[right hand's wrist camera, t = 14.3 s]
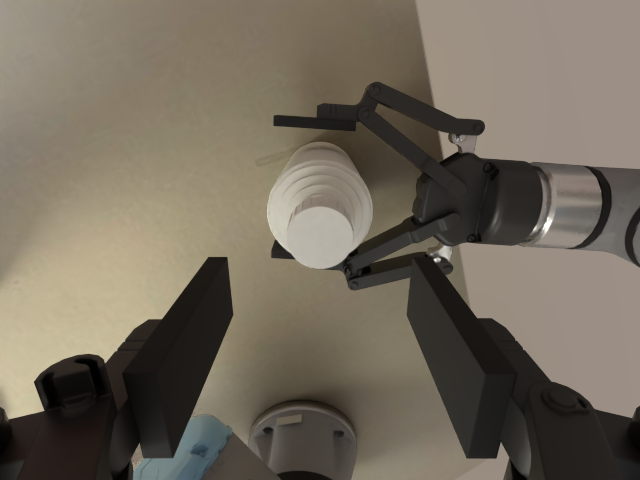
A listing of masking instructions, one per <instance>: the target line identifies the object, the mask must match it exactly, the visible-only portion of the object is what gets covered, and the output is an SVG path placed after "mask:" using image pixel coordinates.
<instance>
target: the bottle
mask: <svg viewBox="0 0 640 480" xmlns="http://www.w3.org/2000/svg"><path fill="white" fill-rule="evenodd" d="M316 196H325V197H330V198H332V199H334V200H336V201H338V202H339V203H340V204H341V205H342V206H344V207H345V209H346V211H347V213H349V215H350V219H351V223H352V226H353V230H354V232H353V235H354V240H353V245H352V248H351V251H350V252H352V251H353V250H354V249H356V248H357V247H358V246H359V245H360V244H361V242H362V241H363V240H364V238H365V237H366V235H367V233H368V231H369V229H370V226H371V223H372V218H373V204H372V198H371V195H370V192H369V190H368V188H367V186H366V184H365V183H364V181H363V179H362V178H361V176H360V174H359V173H358V171H357V169H356V167H355V166H354V164H353V162H352V161H351V159H350V157H349V156H348V155H347V154H346V152H345V151H343V150H342V149H341V148H340V147H338V146H336V145H334V144H331V143H328V142H312V143H309V144H306V145H304V146H302V147H301V148H299V149H298V150H297V151H296V152H295V153H294V154H293V155H292V156H291V158H290V159H289V161H288V163H287V164H286V166H285V168H284V169H283V171H282V173H281V174H280V176H279V178H278V179H277V181H276V183H275V185H274V186H273V188H272V190H271V193H270V196H269V199H268V205H267V216H268V222H269V226H270V228H271V231H272V233H273V235H274V237H275V238H276V240H277V241H278V242H279V243H280V244H281V245H282V247H283V248H285V249H286V250H287V251H288V252H290V250H289V248H288V245H287V232H286V231H287V227H288V223H289V220H290V216H291V213H293V211H294V210H295V207H296V206H298V205H299V204H300V203H301V202H302V201H304V200H306V199H308V198H310V197H316ZM290 253H291V252H290Z"/></svg>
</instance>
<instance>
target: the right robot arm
mask: <svg viewBox="0 0 640 480" xmlns="http://www.w3.org/2000/svg"><path fill="white" fill-rule="evenodd" d="M232 317H233V307H232V298H231V288H230V279H229V269H228V259H227V257H208V258H207V260H206V261H205V262H204V264H203V265H202V267H201V268H200V269H199V271H198V272H197V273H196V275H195V276H194V277H193V279H192V280H191V281H190V283H189V284H188V285H187V287H186V288H185V289H184V291H183V292H182V293H181V295H180V296H179V297H178V299H177V300H176V301H175V303H174V304H173V305H172V307H171V308H170V309H169V311H168V312H167V313H166V315H165V316H164V317H163V319H149V320H147V321H146V322H144V323H143V324H141V325H140V326H138V327H137V328H135V329H134V330H133V331H132V332H131V334H130V335H129V336H128V337H127V338H126V340H125V342H123V343H122V344H121V346H120V347H119V348H118V350H117V351H115V353H114V354H113V355H112V356H111V357H110V359H109V360H108V361H107V362H106V363H105V362H104V359H102V358H101V357H100V356H98V355H93V354H84V355H76V356H73V357H70V358H67V359H64V360H61V361H59V362H57V363H55V364H53V365H51V366H50V367H49V368H47V369H46V370H45V371H43V372H42V373H41V374H40V375H39V376H38V377H37V379H36V380H35V381H34V384H35V386H36V389H37V392H38V394H39V397H40V400H41V402H42V405H43V408H44V410H45V411H43V412H39V413H35V414H30V415H26V416H22V417H18V418H13V419H9V420H8V418H7V415H6V413H5V411H4V409H2V408H1V407H0V480H133V465H132V461H131V457H132V456H133V454H134V452H135V450H136V448H137V446H138V444H139V443H140V446H141V450H142V454H143V458H174V455H175V453H176V451H177V448H178V446H179V444H180V441H181V439H182V436H183V434H184V432H185V429H186V427H187V424H188V422H189V420H190V417H191V415H192V412H193V410H194V408H195V405H196V403H197V400H198V398H199V396H200V393H201V391H202V389H203V386H204V384H205V381H206V379H207V377H208V374H209V372H210V369H211V367H212V365H213V362H214V360H215V357H216V355H217V353H218V350H219V348H220V345H221V343H222V341H223V338H224V336H225V334H226V331H227V329H228V326H229V324H230V322H231V319H232ZM407 317H408V319H409V322H410V324H411V326H412V329H413V331H414V334H415V336H416V338H417V341H418V343H419V345H420V348H421V350H422V353H423V355H424V357H425V360H426V362H427V365H428V367H429V369H430V372H431V374H432V377H433V379H434V381H435V384H436V386H437V389H438V391H439V393H440V396H441V398H442V400H443V403H444V405H445V408H446V410H447V412H448V415H449V417H450V420H451V422H452V424H453V427H454V429H455V432H456V434H457V436H458V439H459V441H460V444H461V446H462V448H463V451H464V453H465V455H466V458H497V454H498V450H499V446H500V442H501V443H502V444H503V446H504V448H505V450H506V452H507V454H508V456H509V461H508V465H507V468H506V472H505V476H504V479H503V480H640V406H639V407H637V408H636V411H635V413H634V415H633V418H629V417H625V416H620V415H616V414H612V413H607V412H603V411H599V410H596V409H594V408H593V407H592V405H591V404H590V402H589V401H588V400H587V399H585V398H584V397H583V396H582V395H581V394H579V393H578V392H576V391H574V390H572V389H571V388H569V387H567V386H564V385H561V384H558V383H555V382H551V381H550V380H549V378H548V377H547V376H546V375H545V374H544V372H543V371H542V370H541V369H540V368H539V367H538V365H537V364H536V363H535V362H534V361H533V359H532V358H531V357H530V356H529V355H528V353H527V352H526V351H525V350H523V348H522V346H521V345H520V344H519V343H518V342H517V341H515V338H514V337H513V336H512V335H511V333H510V332H509V331H508V330H507V329H506V328H505V327H504V326H502V325H501V324H499V323H498V322H496V321H495V320H493V319H491V318H477V317H476V316H475V315H474V313H473V312H472V311H471V309H470V308H469V307H468V305H467V304H466V303H465V301H464V300H463V299H462V297H461V296H460V295H459V293H458V292H457V291H456V289H455V288H454V287H453V285H452V284H451V283H450V281H449V280H448V279H447V277H446V276H445V275H444V273H443V272H442V271H441V269H440V268H439V266H438V265H437V264H436V262H435V261H434V260H433V258H432V257H413V259H412V269H411V279H410V288H409V298H408V307H407Z"/></svg>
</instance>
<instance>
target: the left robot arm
mask: <svg viewBox="0 0 640 480" xmlns="http://www.w3.org/2000/svg"><path fill="white" fill-rule="evenodd" d="M378 103H379V104H381V105H383V106H386V107H388V108H390V109H392V110H394V111H397V112H399V113H401V114H403V115H405V116H408V117H410V118H412V119H414V120H416V121H418V122H421V123H423V124H425V125H427V126H429V127H432V128H434V129H436V130H439V131H442V132H446V133H449V135H448V138H449V141H450V142H451V143H454V144H456V145H457V146H458V152H456V153H454V154H453V155H451V156H449V157H448V158H446V159H444V160H443V161H441V162H439V163H438V162H437V161H435V160H434V159H433V158H431V157H430V156H429V155H427V154H426V153H425V152H424V151H422V150H421V149H420V148H419V147H417V146H416V145H415V144H414V143H413V142H411V141H410V140H409V139H408V138H406V137H405V136H404V135H403V134H402V133H400V132H399V131H398V130H397V129H395V128H394V127H393V126H392V125H391V124H389V123H388V122H387V121H386V120H384V119H383V118H382V117H381V116H380V115H378V114H377V113H376V112H375V109H376V106H377V104H378ZM356 122H361V123H362V124H363V125H364V126H366V127H367V128H368V129H370V130H371V131H372V132H373V133H375V134H376V135H377V136H378V137H380V138H381V139H382V140H383V141H385V142H386V143H387V144H388V145H390V146H391V147H392V148H393V149H395V150H396V151H397V152H398V153H400V154H401V155H402V156H403V157H405V158H406V159H407V160H408V161H410V162H411V163H412V164H413V165H414V166H415V167H417V168H418V169H419V170H420V171H422V172H423V174H422V175H421V176H420V178H417V184H416V191H417V196H416V198H415V201H414V203H413V208H412V212H413V213H414V215H413V216H411V217H409V218H407V219H405V220H404V221H403V222H402V223H401V224H399V225H397V226H395V227H393V228H391V229H389V230H387V231H385V232H383V233H381V234H379V235H377V236H375V237H373V238H371V239H369V240H368V241H366V242H364V243H362V244H360V245H359V246H358V247H357V248H356V249H354V250H353V251H352V252H350V253H349V254H348V256H347V257H346V258H345V259H344V260H343V261H342V262H340V263H339V264H337V265H335V266H333V267H330V268H326V269H327V270H340V271H342V272H343V273H344V274H345V276H346V279H347V283H348V287H349V288H350V289H351V290H359V289H363V288H367V287H372V286H376V285H380V284H384V283H389V282H393V281H397V280H401V279H406V278H410V277H411V269H412V259H413V257H432V258H433V260H434V261H435V262H436V264H437V265H438V266H439V268H440V269H441V271H442V272H443V273H444V275H447V274H450V273H451V272H452V270H453V266H452V264H451V263H450V258H451V254H452V250H453V246H456V245H458V244H461V243H466V242H469V243H478V244H494V245H510V246H512V245H517V244H518V245H520V246H523V247H543V248H565V249H580V250H592V251H604V252H609V253H612V254H615V255H617V256H619V257H621V258H623V259H625V260H627V261H629V262H631V263H633V264H635V265H637V266H638V267H640V169H624V168H606V167H589V166H580V165H567V164H553V163H540V162H532V163H528V162H525V161H513V160H498V159H483V158H479V157H478V156H476V155H475V154H474V150H475V145H476V139H477V135H480V134H482V132H483V131H484V129H485V125H484V122H483V121H481V120H474V119H457V118H455V117H453V116H451V115H448V114H446V113H444V112H442V111H440V110H438V109H436V108H434V107H431V106H429V105H427V104H425V103H423V102H421V101H419V100H416V99H414V98H412V97H410V96H408V95H406V94H404V93H401V92H399V91H397V90H395V89H393V88H391V87H389V86H386V85H384V84H382V83H380V82H374V83H372V84H369V85H368V86H367V87H366V89H365V92H364V95H363V97H362V99H361V101H360V102H359V103H358V104H357V105H340V104H325V103H324V104H321V105H318V106H317V118H314V117H299V116H285V115H275V116H274V126H285V127H299V128H314V129H329V130H343V131H355V130H356ZM432 236H434V237H435V238H436V239H437V240H438V241H439V242H440V243H439V244H438V245H437V246H436V247H432V248H428V249H427V252H416V253H412V254H407V255H403V256H399V257H395V258H391V259H387V260H383V261H379V262H375V261H377V260H379V259H381V258H383V257H385V256H387V255H389V254H391V253H393V252H395V251H397V250H399V249H401V248H403V247H405V246H407V245H410V244H412V243H419V242H421V241H423V240H425V239H427V238H430V237H432ZM271 258H282V259H295V258H294V257H293V255H292V254H291V253H290V252H288V251H287V250H286V249H285V248H283V247H282V245H281V244H280V243H279V242H278V241H277V240H275V242H274V245H273V248H272V255H271ZM373 262H375V263H373ZM313 269H315V268H313ZM356 454H357V444H356V435H355V431H354V428H353V426H352V424H351V423H350V421H349V420H348V419H347V418H346V417H345V416H344V415H343V414H342V413H341V412H339V411H338V410H336V409H334V408H332V407H330V406H328V405H325V404H322V403H319V402H314V401H290V402H285V403H282V404H279V405H276V406H274V407H272V408H270V409H268V410H267V411H265V412H264V413H263V414H261V415H260V416H259V417H258V419H257V420H256V421H255V423H254V424H253V426H252V429H251V432H250V437H249V442H248V446H247V445H246V444H245V443H244V442H243V441H241V440H240V439H239V438H238V437H237V436H236V435H235V434H234V433H233V432H232V428H231V427H230V426H226V425H224V424H223V423H222V422H221V421H220V420H218V419H217V418H216V417H214V416H212V415H207V414H204V415H199V416H196V417H193V418H191V419H190V420H189V422H188V424H187V427H186V429H185V432H184V434H183V436H182V439H181V441H180V444H179V446H178V448H177V451H176V453H175V455H174V458H144V459H143V461H142V462H141V463H140V464H139V465H138V467H137V468H136V469H135V470H134V471H133V480H351V478H352V474H353V469H354V465H355V461H356Z"/></svg>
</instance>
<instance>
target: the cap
mask: <svg viewBox="0 0 640 480" xmlns="http://www.w3.org/2000/svg"><path fill="white" fill-rule="evenodd" d="M286 232H287V245H288V248H289V250H290V252H291V254H292V255H293V257H294V258H295V259H296V260H297V261H299V262H300V263H301V264H303V265H305V266H307V267H310V268H315V269H326V268H330V267H333V266H335V265H337V264H339V263H340V262H342V261H343V260H344V259H345V258H346V257H347V256H348V254H349V253H350V251H351V248H352V245H353V240H354V235H353V232H354V230H353V226H352V223H351V219H350V215H349V213H347V211H346V209H345V207H344V206H342V205H341V204H340V203H339V202H338V201H336V200H334V199H332V198H330V197H325V196H316V197H310V198H308V199H306V200H304V201H302V202H301V203H300V204H299V205H298V206H296V207H295V210H294V211H293V213H291V216H290V220H289V223H288V227H287V231H286Z"/></svg>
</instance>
